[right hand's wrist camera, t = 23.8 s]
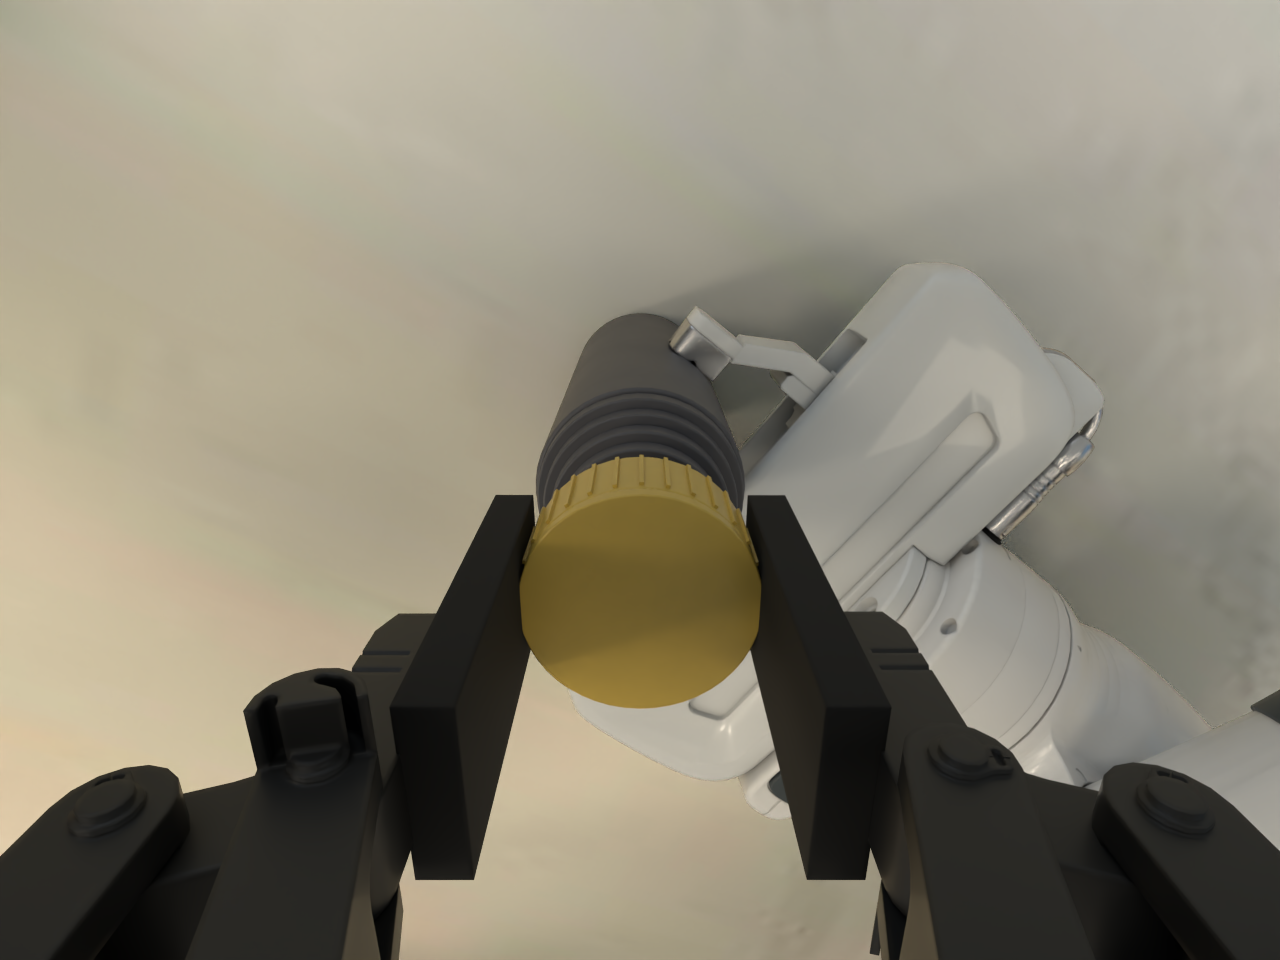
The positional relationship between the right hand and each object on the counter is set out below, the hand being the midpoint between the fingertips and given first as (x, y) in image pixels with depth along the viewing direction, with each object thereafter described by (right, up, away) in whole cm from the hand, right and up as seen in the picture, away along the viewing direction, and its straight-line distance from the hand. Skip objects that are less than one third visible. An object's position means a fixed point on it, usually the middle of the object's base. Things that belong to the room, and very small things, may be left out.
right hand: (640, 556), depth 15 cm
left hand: (-1, +4, +9) cm, 10 cm away
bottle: (0, +6, +16) cm, 17 cm away
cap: (0, -1, -2) cm, 2 cm away
